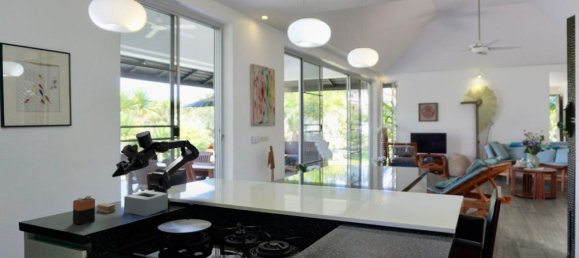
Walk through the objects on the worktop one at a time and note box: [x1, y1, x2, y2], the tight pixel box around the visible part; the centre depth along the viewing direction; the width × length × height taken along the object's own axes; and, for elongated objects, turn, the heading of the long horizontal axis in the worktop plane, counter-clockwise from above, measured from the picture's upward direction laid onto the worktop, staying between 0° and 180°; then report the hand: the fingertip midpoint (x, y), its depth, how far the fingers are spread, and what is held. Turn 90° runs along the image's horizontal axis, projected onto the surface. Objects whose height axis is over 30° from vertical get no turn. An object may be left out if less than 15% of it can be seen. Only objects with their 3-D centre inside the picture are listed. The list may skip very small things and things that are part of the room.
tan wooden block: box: [96, 202, 116, 214], centre depth 170 cm, size 4×6×3 cm, turn 70°
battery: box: [72, 195, 96, 225], centre depth 153 cm, size 4×7×10 cm, turn 154°
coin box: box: [123, 189, 169, 217], centre depth 173 cm, size 14×12×7 cm
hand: (118, 174), depth 167 cm, fingers open, 9 cm apart
